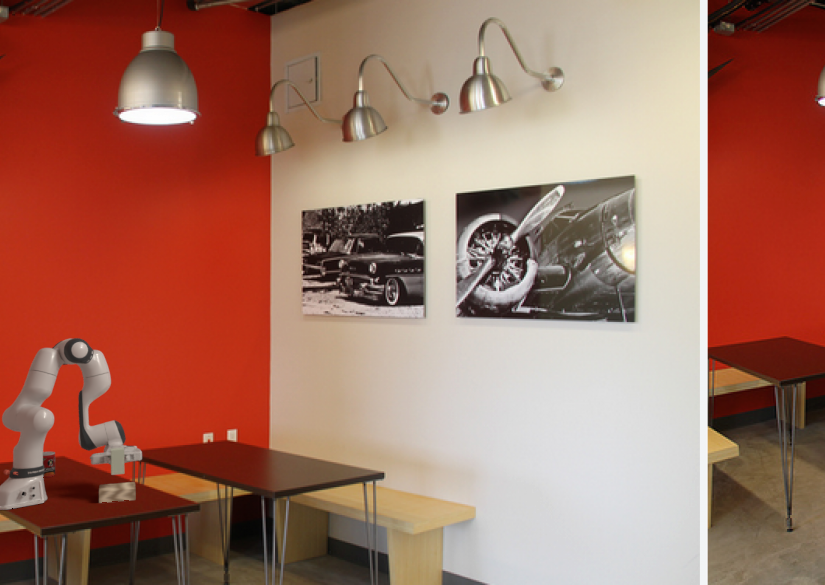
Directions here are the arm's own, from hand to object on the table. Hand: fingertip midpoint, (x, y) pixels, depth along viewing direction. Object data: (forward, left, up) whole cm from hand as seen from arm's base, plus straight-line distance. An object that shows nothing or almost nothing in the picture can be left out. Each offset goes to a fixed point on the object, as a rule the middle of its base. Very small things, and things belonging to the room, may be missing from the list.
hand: (117, 460), depth 331 cm
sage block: (+1, +1, -5) cm, 6 cm away
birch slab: (0, +1, -16) cm, 16 cm away
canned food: (+14, +69, -16) cm, 72 cm away
